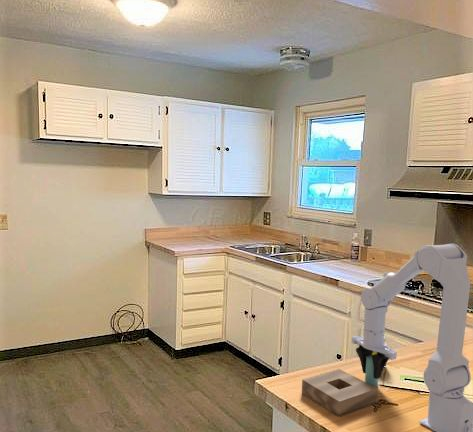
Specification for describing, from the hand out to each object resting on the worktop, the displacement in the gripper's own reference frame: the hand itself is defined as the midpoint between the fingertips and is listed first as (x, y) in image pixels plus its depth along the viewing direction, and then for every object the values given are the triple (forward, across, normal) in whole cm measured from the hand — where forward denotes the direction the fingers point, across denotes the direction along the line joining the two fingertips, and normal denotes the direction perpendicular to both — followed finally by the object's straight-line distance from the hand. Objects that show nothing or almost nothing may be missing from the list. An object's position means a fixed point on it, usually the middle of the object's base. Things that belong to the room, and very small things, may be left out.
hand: (371, 375), depth 131 cm
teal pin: (+3, 0, 0) cm, 3 cm away
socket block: (+3, -1, +14) cm, 14 cm away
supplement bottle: (+3, +8, -12) cm, 15 cm away
